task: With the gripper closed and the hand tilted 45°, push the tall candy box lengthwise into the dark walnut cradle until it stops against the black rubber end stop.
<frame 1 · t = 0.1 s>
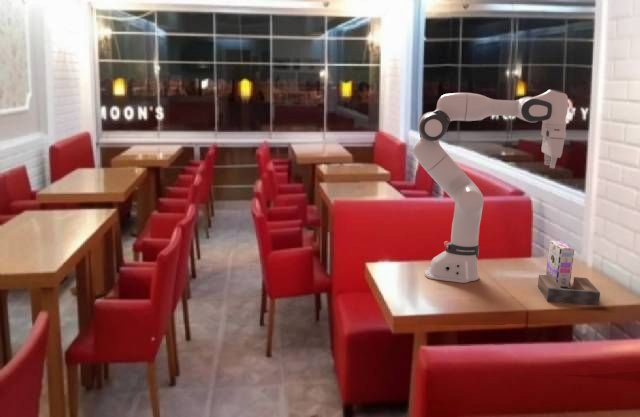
hand: (549, 166, 270), 48 cm above the table, tool pointing down, fingers open, 8 cm apart
candy box: (557, 283, 280), on the table
cradle: (566, 294, 264), on the table
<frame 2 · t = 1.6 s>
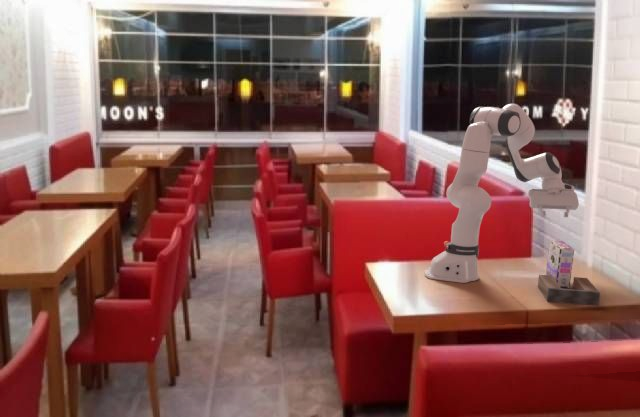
hand: (554, 216, 292), 24 cm above the table, tool tilted 45°, fingers open, 8 cm apart
nothing on the table moved.
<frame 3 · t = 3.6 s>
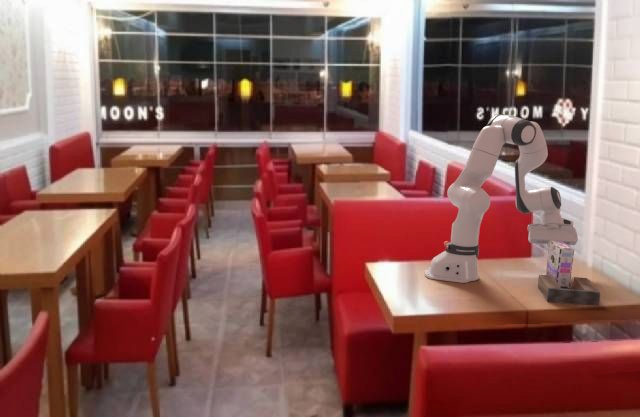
hand: (554, 251, 289), 10 cm above the table, tool tilted 45°, fingers closed
nothing on the table moved.
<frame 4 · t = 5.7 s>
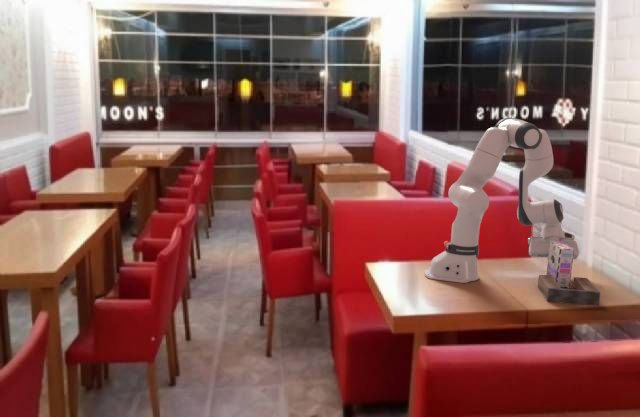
hand: (554, 265, 285), 5 cm above the table, tool tilted 45°, fingers closed
candy box: (557, 283, 279), on the table, touching gripper
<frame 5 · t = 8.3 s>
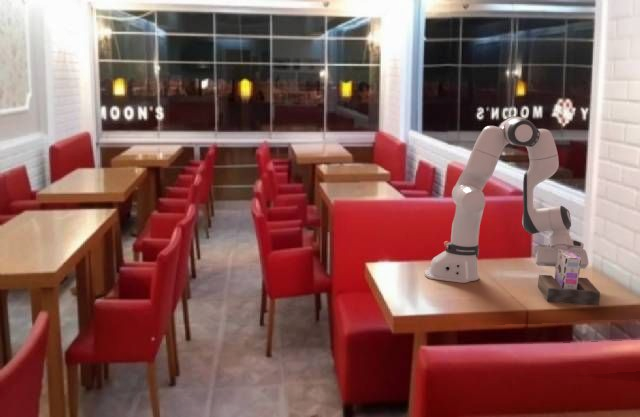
hand: (563, 275, 271), 5 cm above the table, tool tilted 45°, fingers closed, pressing on candy box
candy box: (564, 294, 265), resting in cradle, touching gripper
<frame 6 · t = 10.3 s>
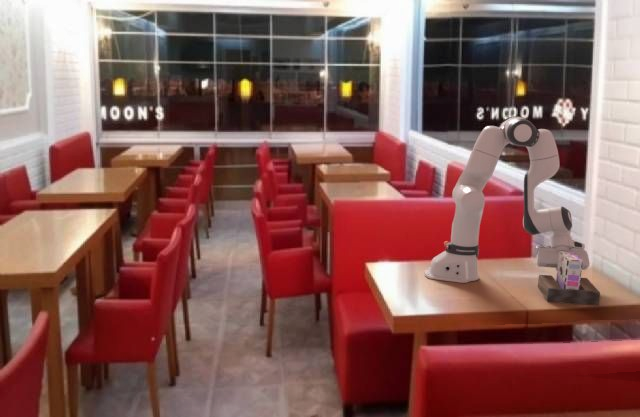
hand: (563, 276, 269), 5 cm above the table, tool tilted 45°, fingers closed
candy box: (566, 296, 262), resting in cradle
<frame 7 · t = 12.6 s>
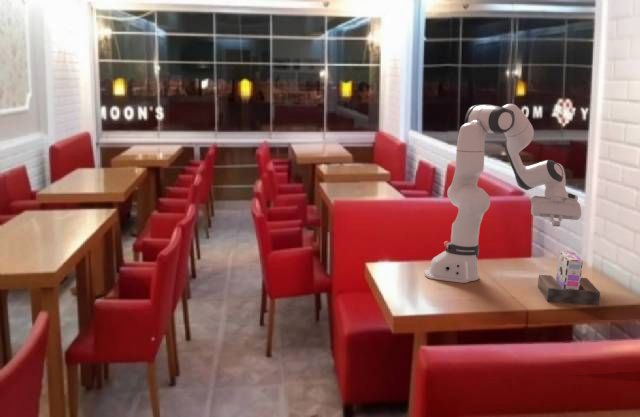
hand: (556, 225, 285), 22 cm above the table, tool tilted 40°, fingers closed
nothing on the table moved.
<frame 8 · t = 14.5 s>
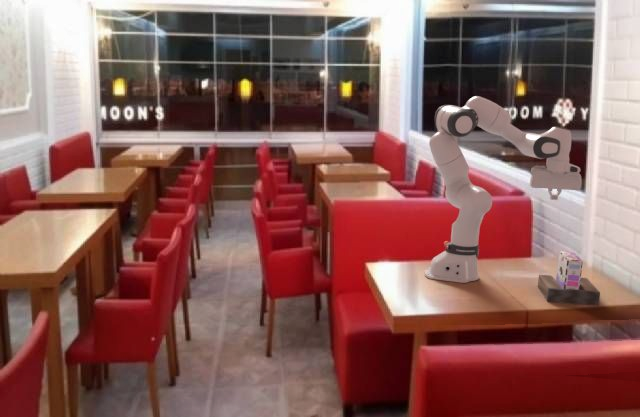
hand: (553, 199, 282), 33 cm above the table, tool pointing down, fingers closed
nothing on the table moved.
at the end: candy box 0.8 cm from the target spot on the cradle, point 0.0 cm above the cradle's base; candy box tilted 0° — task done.
